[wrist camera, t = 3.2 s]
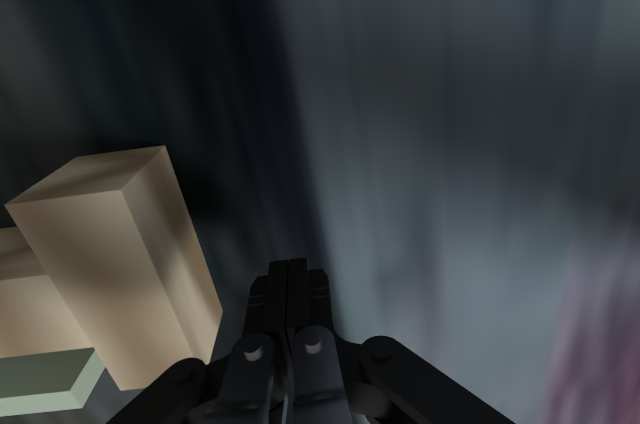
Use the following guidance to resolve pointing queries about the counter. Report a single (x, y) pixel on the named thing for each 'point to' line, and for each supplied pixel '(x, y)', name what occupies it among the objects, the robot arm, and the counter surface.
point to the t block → (107, 268)
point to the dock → (48, 381)
